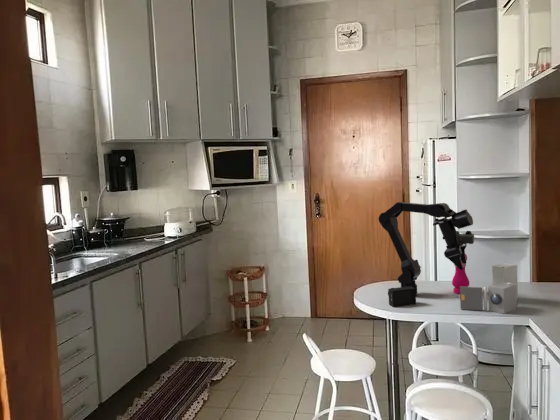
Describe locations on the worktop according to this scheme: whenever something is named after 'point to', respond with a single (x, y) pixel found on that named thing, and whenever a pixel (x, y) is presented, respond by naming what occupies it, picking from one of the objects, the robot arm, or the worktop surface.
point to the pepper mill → (460, 278)
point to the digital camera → (402, 296)
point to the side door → (473, 298)
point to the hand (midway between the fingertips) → (463, 266)
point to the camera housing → (502, 297)
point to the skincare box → (505, 274)
